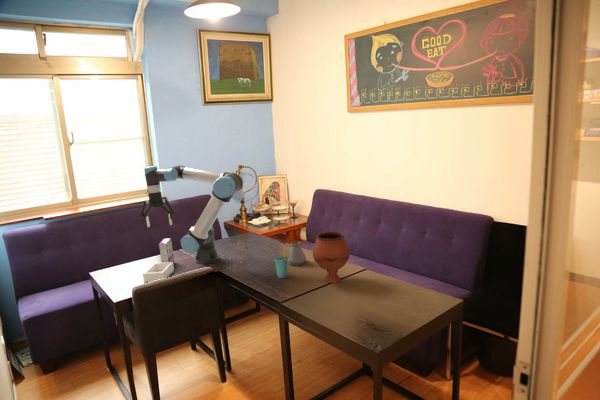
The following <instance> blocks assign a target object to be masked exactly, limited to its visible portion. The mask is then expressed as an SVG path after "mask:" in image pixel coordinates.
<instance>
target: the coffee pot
mask: <svg viewBox="0 0 600 400" xmlns="http://www.w3.org/2000/svg"><path fill="white" fill-rule="evenodd" d="M272 240H273V241H275V240H276V241H278V242H280V243H282V244H283V245H286V246H287V247H289V248H290V250H289V253H290V256H289V258H288V260H287V263H289V264H290V265H292V266H300V265H303V264H304V263H305V262H306V261H307V257H306V255H305V251H303V247H301V244H302V241H299V240H297V241H295V240H294V241H291V242H290V243H289V244H288V243H287V242H285V241H283V240H282V239H279V238H277V237H276V236H275V237H273V239H272Z"/></svg>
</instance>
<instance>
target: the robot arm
mask: <svg viewBox="0 0 600 400" xmlns="http://www.w3.org/2000/svg"><path fill="white" fill-rule="evenodd" d="M144 177H145V182H146V190H147V192H148V193H147V195H148V200H147V199H146V200H144V201H143V206H142V210H141V212H140V217H144V218H143V219H144V222H145V223H146V226H147V228H150V227H151V223H150V218H149V217H150V216H149V214H150V212H151V211H152V209H153V208H159V207H161V208H162V209H163V210H164V211H165V212H167V213H168V214H167V215H168V222H169V226H172V225H173V219H174V215H173V214H175V213H176V210H175V209H174V207H173V206H172V204H171V203H170V202H169V199H168V197H166V198H164V199H163V195H162V191H161V190H162V189H161V183H162V182H175V181H176V180H178V179H181V180H187V181H192V182H198V183H204V184H209V185H210V184H211V185H212V190H211V197H210V199H209V201H208V202H207V205H206V206H205V208H204V209H203V211H202V213H201V214H200V216H199V218H198V219H197V221H196V223H195V225H193V226H191V227H190V229H189V230H188V231H187V234H185V235H184V236H182V237H181V239H180V245H181V248H182V250H183V251H185V252H186V253H187V254H195V257H194V262H195V263H197V264H199V265H200V264H201V265H202V264H203V265H206V264H211V263H212V264H213V263H215V262H218V261H219V259H220V255H219V253H218V252H219V251H218V250H217V248H216V242H215V241H216V240H215V233H214V231H215V230H214V226H213V225H214V223H215V221H216V220H217V218H218V216H219V214H220V213H221V211H222V210H223V208H224V207H225V205H226V204H227V203H230V201H231V199H232V198H233V196H234V195H235V194H237V193H238V192H240V191H241V190H242V188H243V187H244V186H243V185H244V181H243V178H242V177H241V175H239V174H238V173H235V172H227V171H224V172H223V173H222V172H215V171H210V170H204V169H200V168H199V169H197V168H192V167H186V166H184V165H181V164H179V165H175V166H172V167H167V168H161V169H160V168H158V166H157V165H152V166H151V165H149V166H145V167H144ZM164 203H165V204H166V205H165V204H164ZM148 204H149V207H148ZM147 207H148V209H147ZM146 209H147V210H146Z"/></svg>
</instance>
